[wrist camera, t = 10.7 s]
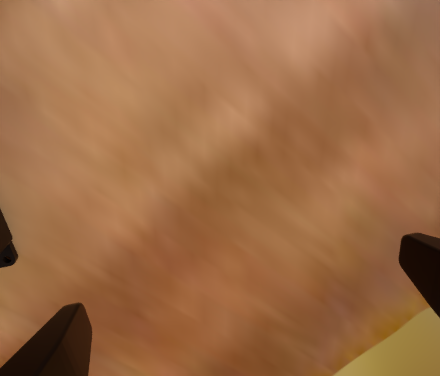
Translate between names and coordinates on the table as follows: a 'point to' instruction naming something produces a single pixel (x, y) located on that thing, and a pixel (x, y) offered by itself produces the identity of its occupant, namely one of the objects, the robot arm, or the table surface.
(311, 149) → the table surface
